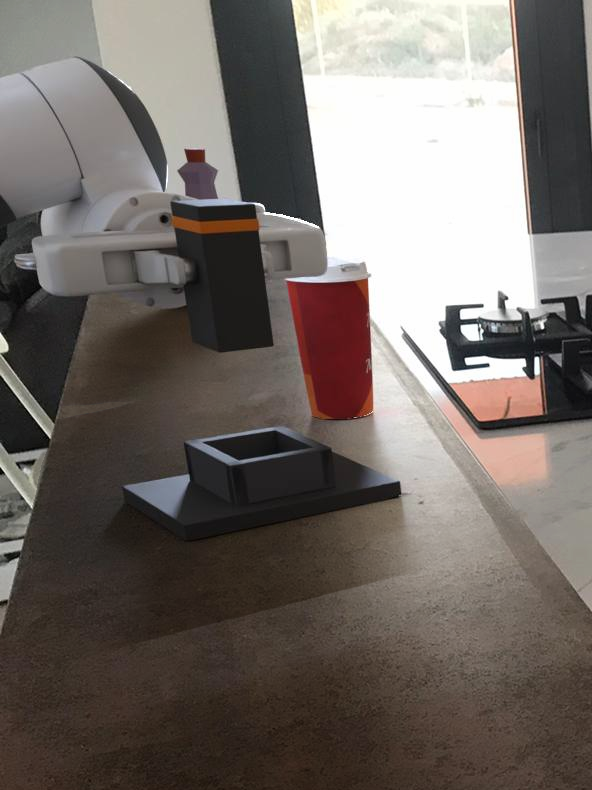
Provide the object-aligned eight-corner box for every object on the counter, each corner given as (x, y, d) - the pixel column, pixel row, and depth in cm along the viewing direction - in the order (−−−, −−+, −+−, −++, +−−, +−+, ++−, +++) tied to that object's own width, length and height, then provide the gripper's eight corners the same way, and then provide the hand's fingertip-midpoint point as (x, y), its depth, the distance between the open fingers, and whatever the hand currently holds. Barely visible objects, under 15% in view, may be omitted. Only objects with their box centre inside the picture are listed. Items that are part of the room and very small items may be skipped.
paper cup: (402, 410, 122) (388, 260, 117) (338, 427, 116) (320, 269, 111) (345, 399, 126) (329, 253, 121) (280, 415, 120) (260, 261, 115)
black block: (218, 353, 91) (197, 206, 87) (190, 342, 94) (168, 200, 90) (275, 346, 93) (256, 203, 90) (246, 336, 97) (226, 198, 93)
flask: (284, 306, 176) (265, 152, 168) (152, 312, 169) (125, 152, 162) (274, 288, 189) (255, 145, 182) (151, 293, 183) (126, 145, 175)
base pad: (186, 542, 87) (176, 482, 86) (124, 501, 95) (114, 446, 93) (402, 496, 98) (396, 442, 96) (329, 463, 105) (323, 413, 104)
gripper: (-3, 213, 92) (59, 231, 83) (275, 201, 106) (355, 215, 97) (15, 302, 95) (77, 329, 85) (285, 279, 108) (364, 300, 99)
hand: (227, 268), depth 91 cm, fingers closed on black block, 4 cm apart
